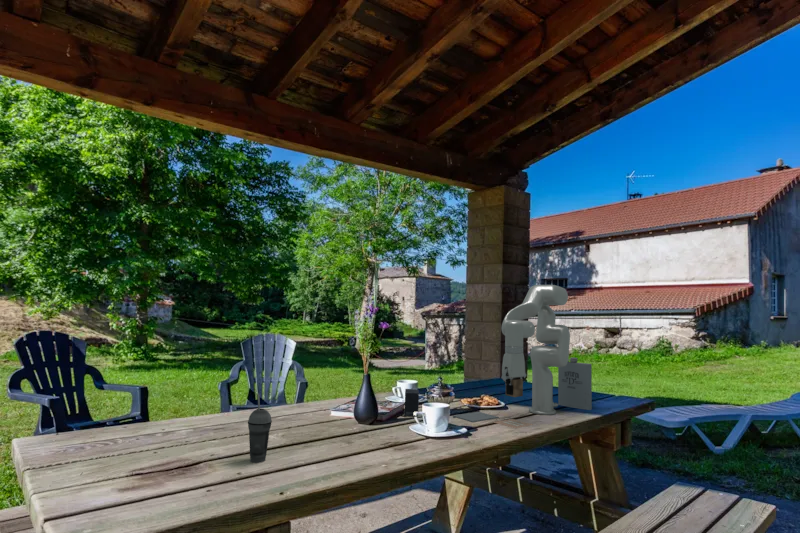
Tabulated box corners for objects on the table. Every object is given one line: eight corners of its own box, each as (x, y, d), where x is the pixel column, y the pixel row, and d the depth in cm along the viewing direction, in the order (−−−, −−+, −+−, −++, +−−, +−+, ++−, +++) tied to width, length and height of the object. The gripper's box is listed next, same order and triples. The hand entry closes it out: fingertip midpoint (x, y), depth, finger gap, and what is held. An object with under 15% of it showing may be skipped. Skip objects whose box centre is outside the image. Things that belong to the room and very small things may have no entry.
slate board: (478, 415, 222) (478, 411, 222) (498, 420, 213) (498, 416, 213) (453, 419, 213) (453, 415, 213) (472, 424, 203) (472, 421, 203)
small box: (418, 417, 215) (419, 392, 216) (404, 416, 215) (404, 392, 216) (418, 411, 226) (418, 388, 227) (404, 411, 226) (404, 388, 227)
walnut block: (513, 393, 208) (513, 377, 209) (522, 395, 204) (522, 379, 205) (505, 395, 205) (505, 378, 206) (514, 397, 201) (514, 380, 202)
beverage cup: (256, 465, 144) (260, 397, 146) (240, 461, 148) (244, 394, 150) (275, 459, 151) (278, 394, 152) (258, 455, 154) (262, 391, 156)
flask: (556, 404, 253) (556, 356, 255) (560, 403, 256) (560, 355, 258) (588, 410, 240) (588, 359, 242) (592, 409, 243) (592, 358, 245)
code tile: (511, 421, 212) (511, 418, 212) (534, 427, 202) (534, 424, 202) (492, 424, 205) (492, 422, 205) (515, 430, 195) (515, 428, 195)
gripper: (520, 348, 214) (520, 390, 213) (493, 350, 204) (493, 394, 203) (534, 350, 208) (534, 393, 207) (507, 352, 198) (507, 397, 197)
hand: (514, 393), depth 205 cm, fingers closed on walnut block, 5 cm apart
